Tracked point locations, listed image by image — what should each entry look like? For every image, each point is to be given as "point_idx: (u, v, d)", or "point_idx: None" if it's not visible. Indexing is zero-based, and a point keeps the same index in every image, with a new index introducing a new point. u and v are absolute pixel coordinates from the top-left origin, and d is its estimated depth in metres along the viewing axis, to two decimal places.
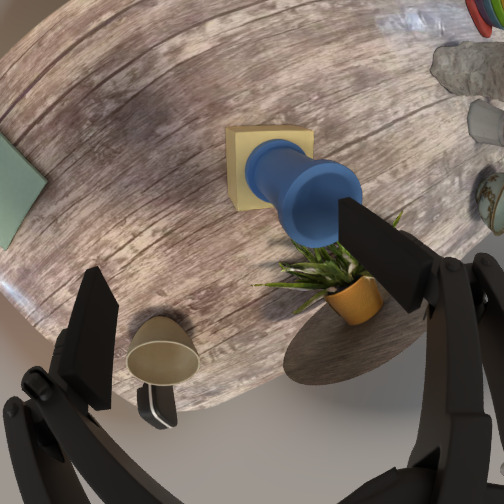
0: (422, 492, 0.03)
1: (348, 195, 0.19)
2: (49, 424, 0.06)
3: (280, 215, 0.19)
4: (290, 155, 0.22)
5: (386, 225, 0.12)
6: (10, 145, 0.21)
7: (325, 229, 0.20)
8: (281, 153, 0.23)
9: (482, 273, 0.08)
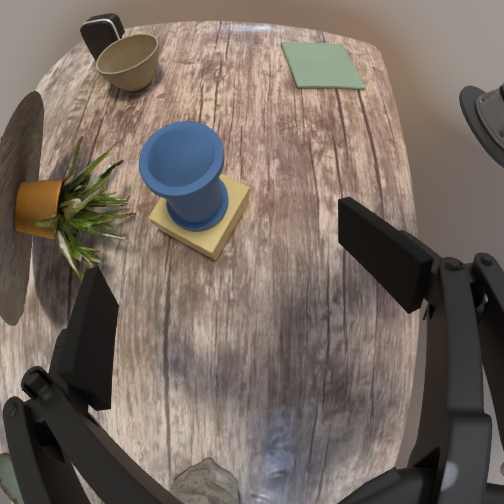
0: (422, 492, 0.03)
1: (174, 179, 0.19)
2: (49, 424, 0.06)
3: (199, 125, 0.21)
4: (218, 190, 0.25)
5: (386, 225, 0.12)
6: (339, 86, 0.39)
7: (159, 149, 0.20)
8: (220, 193, 0.26)
9: (482, 273, 0.08)
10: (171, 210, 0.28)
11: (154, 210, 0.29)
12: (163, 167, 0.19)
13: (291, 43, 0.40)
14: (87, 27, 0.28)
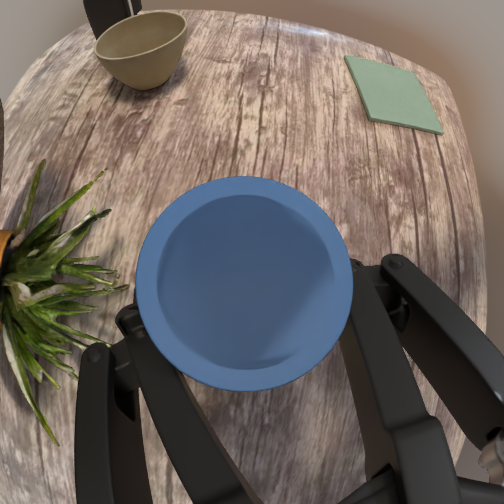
0: None
1: (233, 349, 0.07)
2: (134, 362, 0.08)
3: (291, 192, 0.09)
4: None
5: None
6: (417, 126, 0.28)
7: (192, 250, 0.08)
8: None
9: (395, 279, 0.09)
10: None
11: None
12: (201, 308, 0.08)
13: (357, 58, 0.31)
14: None
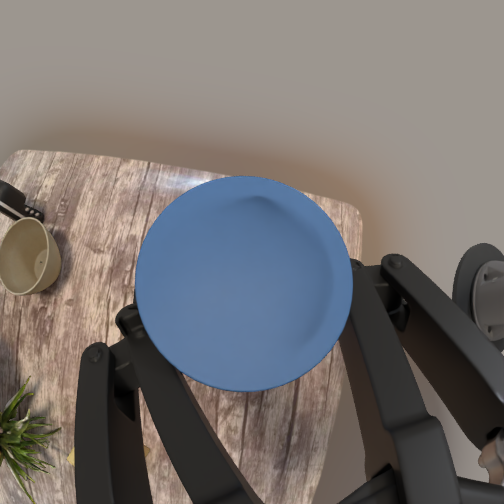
0: None
1: (233, 349, 0.07)
2: (134, 362, 0.08)
3: (291, 191, 0.09)
4: None
5: None
6: None
7: (191, 250, 0.08)
8: None
9: (395, 279, 0.09)
10: None
11: (69, 456, 0.23)
12: (201, 308, 0.08)
13: None
14: None
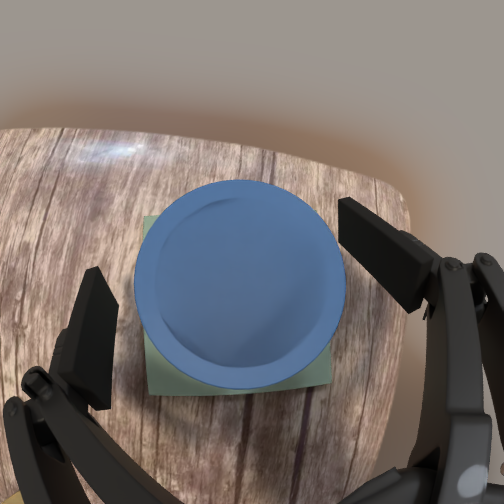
0: (422, 492, 0.03)
1: (228, 348, 0.08)
2: (49, 424, 0.06)
3: (285, 194, 0.09)
4: None
5: (386, 225, 0.12)
6: (256, 392, 0.17)
7: (188, 252, 0.08)
8: None
9: (482, 273, 0.08)
10: None
11: None
12: (197, 308, 0.08)
13: None
14: None
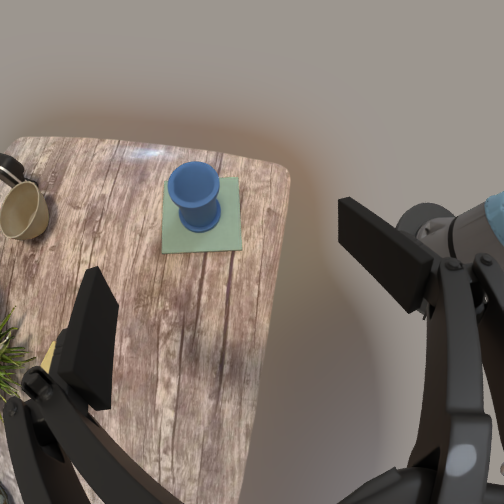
0: (422, 492, 0.03)
1: (189, 198, 0.33)
2: (49, 424, 0.06)
3: (206, 164, 0.35)
4: (214, 207, 0.39)
5: (386, 225, 0.12)
6: (207, 251, 0.42)
7: (181, 178, 0.34)
8: (215, 209, 0.40)
9: (482, 273, 0.08)
10: (181, 216, 0.42)
11: None
12: (182, 189, 0.33)
13: None
14: None
